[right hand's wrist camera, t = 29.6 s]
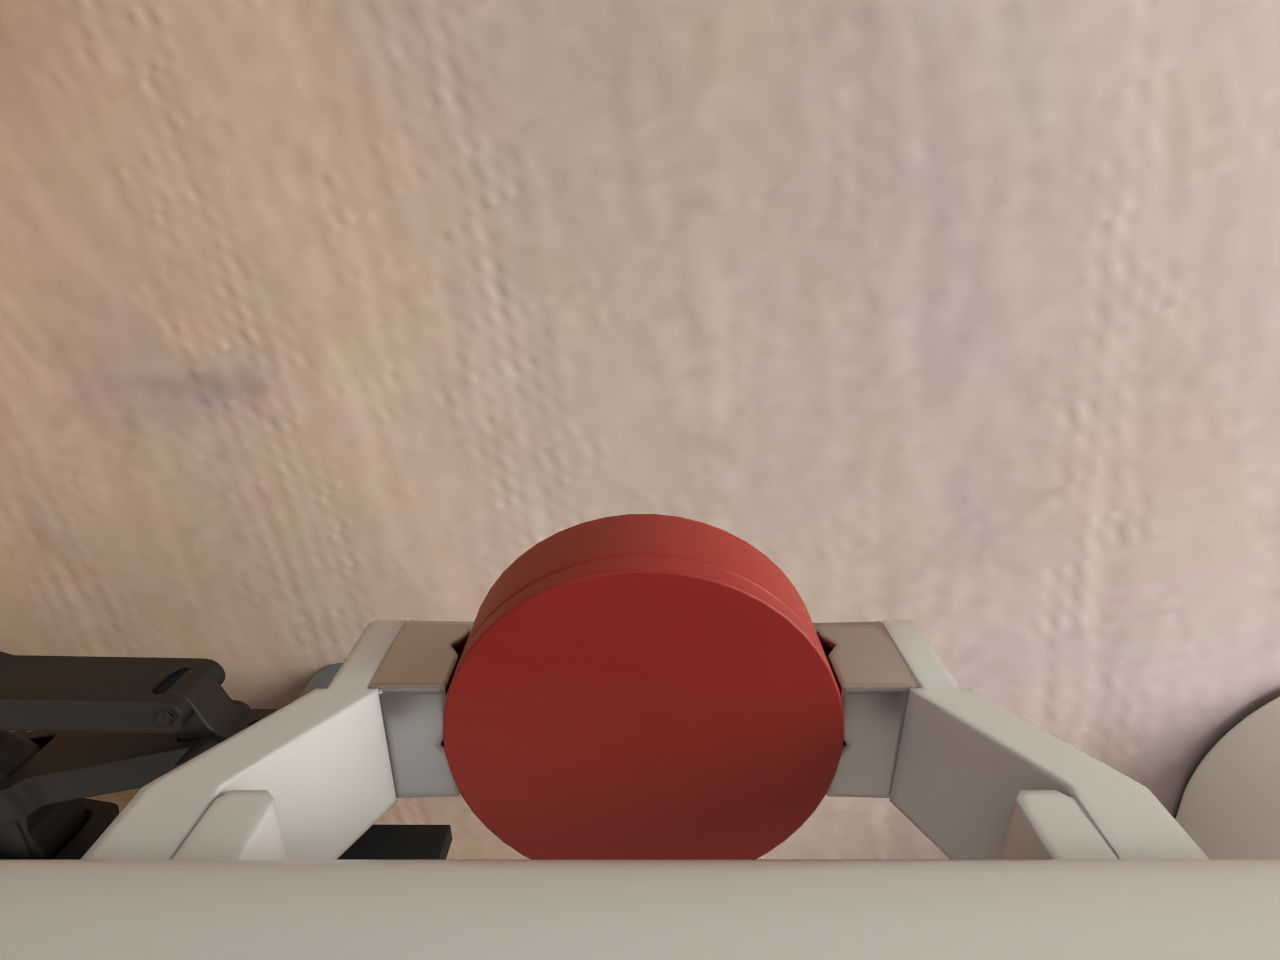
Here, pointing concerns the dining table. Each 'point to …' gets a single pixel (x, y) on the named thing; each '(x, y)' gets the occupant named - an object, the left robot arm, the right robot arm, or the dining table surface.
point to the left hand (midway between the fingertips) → (432, 811)
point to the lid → (643, 698)
